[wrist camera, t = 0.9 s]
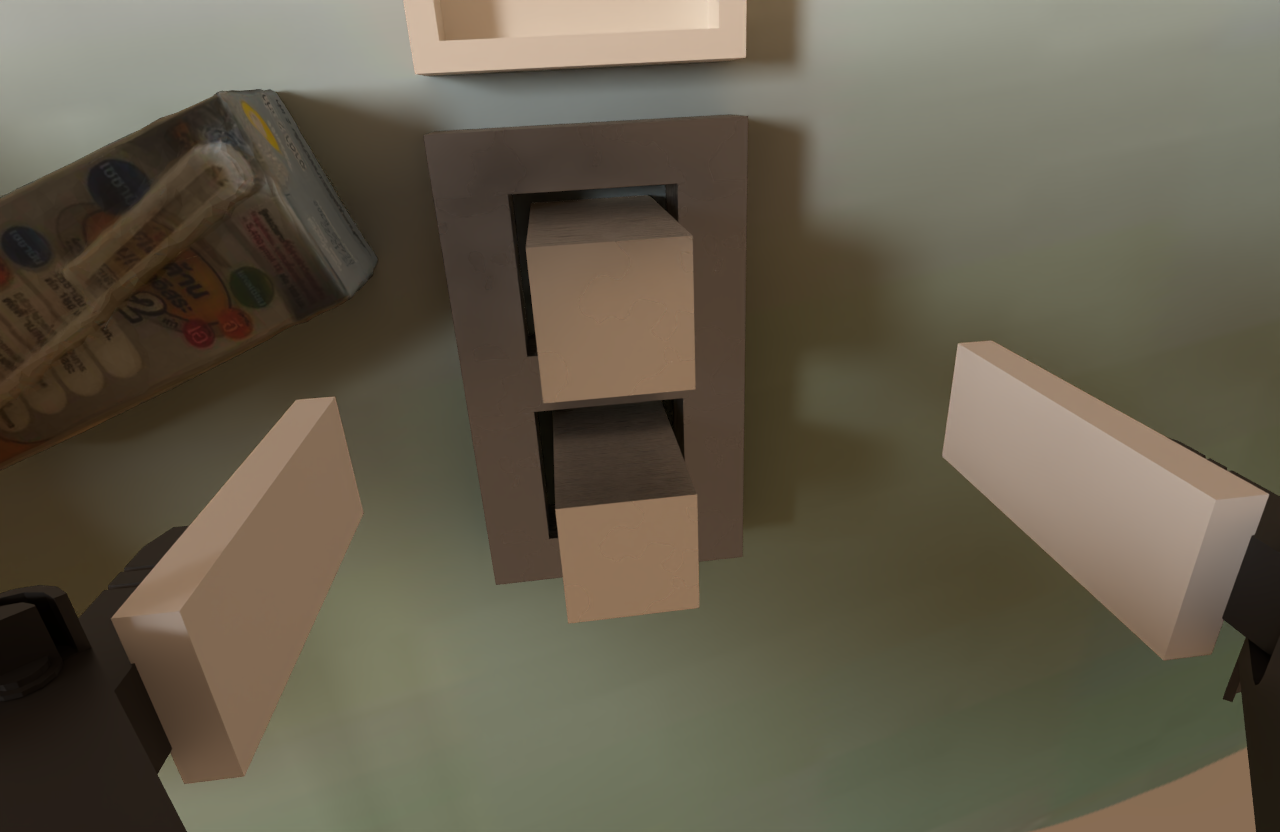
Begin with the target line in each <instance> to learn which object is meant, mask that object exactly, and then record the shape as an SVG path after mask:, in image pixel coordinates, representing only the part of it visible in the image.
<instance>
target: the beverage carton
mask: <svg viewBox="0 0 1280 832" xmlns="http://www.w3.org/2000/svg"><path fill="white" fill-rule="evenodd" d="M376 264H377V257H376V255H375V253H374V252H373V250H372V249H371V248H370V246H369V245H368V243H367V242H366V240H365V239H364V237H363V236H362V234H361V232H360V231H359V229H358V228H357V226H356V224H355V223H354V221H353V220H352V218H351V217H350V215H349V214H348V212H347V210H346V209H345V207H344V206H343V204H342V202H341V201H340V199H339V197H338V195H337V194H336V192H335V190H334V188H333V187H332V185H331V183H330V181H329V180H328V178H327V176H326V175H325V173H324V171H323V170H322V168H321V166H320V165H319V163H318V161H317V159H316V158H315V156H314V154H313V153H312V151H311V149H310V147H309V146H308V144H307V143H306V141H305V139H304V138H303V136H302V135H301V133H300V131H299V129H298V127H297V125H296V123H295V121H294V120H293V118H292V116H291V115H290V113H289V111H288V110H287V108H286V107H285V105H284V104H283V102H282V101H281V99H280V98H279V96H278V94H277V93H276V92H274V91H272V90H265V91H263V90H261V89H256V90H245V91H234V90H231V91H220V92H217V93H216V94H215V95H214V96H212V97H210V98H208V99H206V100H204V101H202V102H200V103H197V104H195V105H193V106H191V107H189V108H186V109H184V110H182V111H180V112H177V113H174V114H171V115H168V116H165V117H162V118H160V119H158V120H156V121H154V122H153V123H151V124H149V125H147V126H146V127H144V128H142V129H141V130H139V131H136V132H134V133H132V134H129V135H127V136H125V137H123V138H121V139H119V140H117V141H115V142H112V143H110V144H108V145H106V146H104V147H102V148H100V149H98V150H96V151H94V152H92V153H90V154H89V155H87V156H85V157H83V158H81V159H79V160H77V161H75V162H73V163H71V164H69V165H67V166H65V167H63V168H61V169H59V170H56V171H54V172H52V173H50V174H48V175H46V176H44V177H42V178H40V179H37V180H35V181H33V182H31V183H29V184H26V185H24V186H22V187H20V188H17V189H16V190H14V191H12V192H11V193H8V194H6V195H4V196H2V197H0V470H2V469H5V468H7V467H9V466H11V465H13V464H15V463H17V462H19V461H21V460H24V459H26V458H28V457H30V456H32V455H35V454H37V453H39V452H41V451H44V450H46V449H48V448H50V447H52V446H54V445H56V444H58V443H61V442H63V441H65V440H67V439H69V438H71V437H73V436H76V435H78V434H80V433H82V432H84V431H86V430H88V429H90V428H92V427H94V426H97V425H98V424H100V423H102V422H104V421H106V420H108V419H110V418H112V417H115V416H117V415H119V414H121V413H123V412H125V411H127V410H129V409H131V408H133V407H135V406H137V405H139V404H142V403H144V402H146V401H148V400H150V399H152V398H154V397H156V396H158V395H160V394H162V393H164V392H166V391H168V390H170V389H173V388H175V387H177V386H178V385H180V384H182V383H184V382H186V381H188V380H190V379H192V378H194V377H196V376H198V375H200V374H202V373H204V372H206V371H208V370H210V369H212V368H214V367H216V366H218V365H220V364H222V363H224V362H226V361H228V360H230V359H232V358H234V357H236V356H238V355H240V354H242V353H244V352H246V351H247V350H249V349H251V348H253V347H255V346H257V345H259V344H261V343H263V342H265V341H267V340H268V339H270V338H272V337H274V336H275V335H277V334H278V333H280V332H282V331H283V330H285V329H287V328H289V327H291V326H294V325H297V324H301V323H304V322H308V321H309V320H310V319H312V318H313V317H315V316H317V315H319V314H321V313H324V312H326V311H328V310H331V309H333V308H335V307H337V306H339V305H341V304H342V303H344V302H346V301H347V300H349V299H351V298H352V296H353V295H354V294H355V293H356V292H357V291H358V290H360V289H361V288H362V286H363V285H364V284H365V283H366V282H367V280H369V279H370V278H371V277H372V276H373V269H374V268H375V266H376Z"/></svg>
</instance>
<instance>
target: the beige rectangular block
mask: <svg viewBox="0 0 1280 832" xmlns="http://www.w3.org/2000/svg"><path fill="white" fill-rule="evenodd" d="M553 442H554V480H555V511H556V520H557V529H558V538H559V547H560V555H561V564H562V573H563V582H564V591H565V599H566V608H567V617H568V623H576V622H585V621H593V620H601V619H610V618H618V617H626V616H635V615H643V614H651V613H660V612H668V611H676V610H684V609H693V608H699V563H698V508H697V492H696V490H695V487H694V485H693V482H692V479H691V477H690V474H689V472H688V469H687V466H686V464H685V461H684V459H683V456H682V454H681V451H680V448H679V446H678V443H677V441H676V438H675V435H674V433H673V430H672V428H671V425H670V422H669V420H668V417H667V415H666V412H665V409H664V407H663V404H662V402H661V400H656V401H645V402H635V403H624V404H613V405H602V406H592V407H581V408H570V409H559V410H553Z"/></svg>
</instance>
